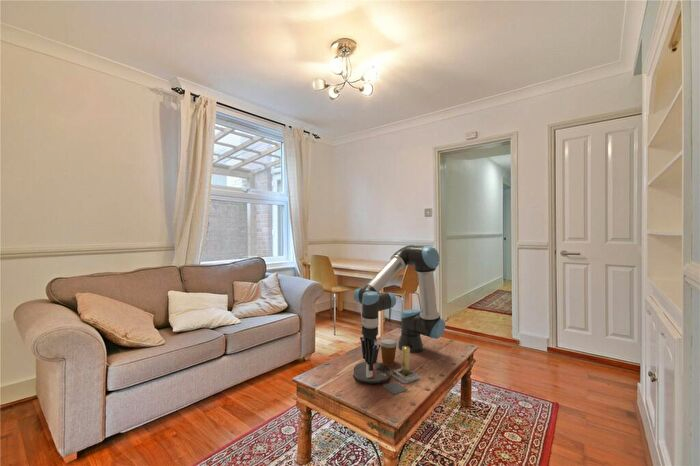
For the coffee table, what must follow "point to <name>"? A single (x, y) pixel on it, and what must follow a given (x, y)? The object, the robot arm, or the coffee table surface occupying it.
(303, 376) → the coffee table surface
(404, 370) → the yellow tall cylinder
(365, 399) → the coffee table surface
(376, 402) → the coffee table surface
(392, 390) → the rest pad
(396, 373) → the grey square frame
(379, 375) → the compass
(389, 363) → the disposable coffee cup
